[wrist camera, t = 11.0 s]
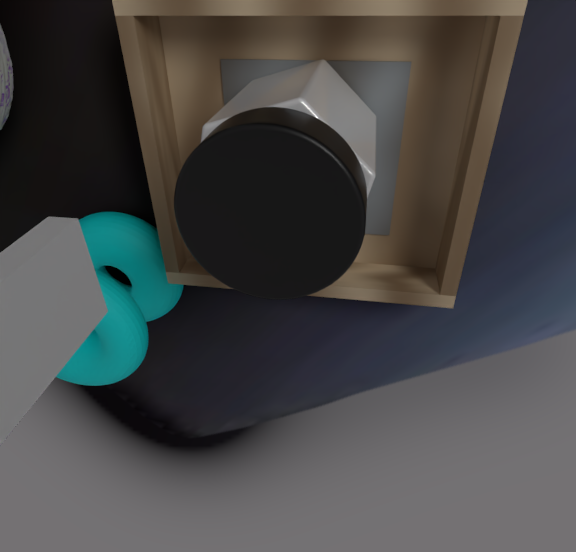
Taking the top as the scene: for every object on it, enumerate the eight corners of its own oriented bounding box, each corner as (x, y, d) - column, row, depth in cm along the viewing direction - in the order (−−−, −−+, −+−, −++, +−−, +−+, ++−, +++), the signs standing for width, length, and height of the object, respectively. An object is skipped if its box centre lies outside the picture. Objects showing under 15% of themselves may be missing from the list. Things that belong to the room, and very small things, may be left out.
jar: (260, 207, 32) (207, 314, 22) (217, 88, 28) (129, 155, 18) (388, 179, 29) (393, 287, 20) (362, 43, 25) (351, 94, 16)
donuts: (15, 248, 26) (163, 344, 28) (102, 179, 34) (211, 259, 36) (-29, 339, 31) (100, 413, 34) (56, 260, 39) (154, 325, 42)
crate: (509, -15, 24) (530, -11, 20) (445, 274, 34) (452, 308, 30) (143, -11, 26) (110, -8, 23) (186, 254, 37) (168, 283, 33)
